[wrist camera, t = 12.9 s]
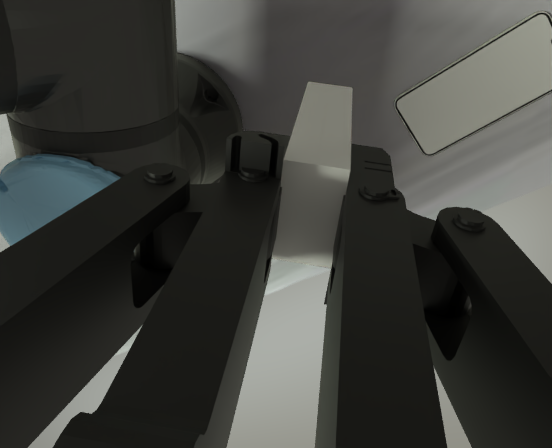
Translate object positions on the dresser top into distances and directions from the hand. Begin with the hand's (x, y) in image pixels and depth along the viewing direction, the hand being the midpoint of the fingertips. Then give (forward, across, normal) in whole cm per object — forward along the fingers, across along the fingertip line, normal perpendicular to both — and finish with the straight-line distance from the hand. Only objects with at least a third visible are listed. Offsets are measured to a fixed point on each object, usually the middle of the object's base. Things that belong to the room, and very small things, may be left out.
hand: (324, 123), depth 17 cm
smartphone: (+33, +14, -6) cm, 36 cm away
